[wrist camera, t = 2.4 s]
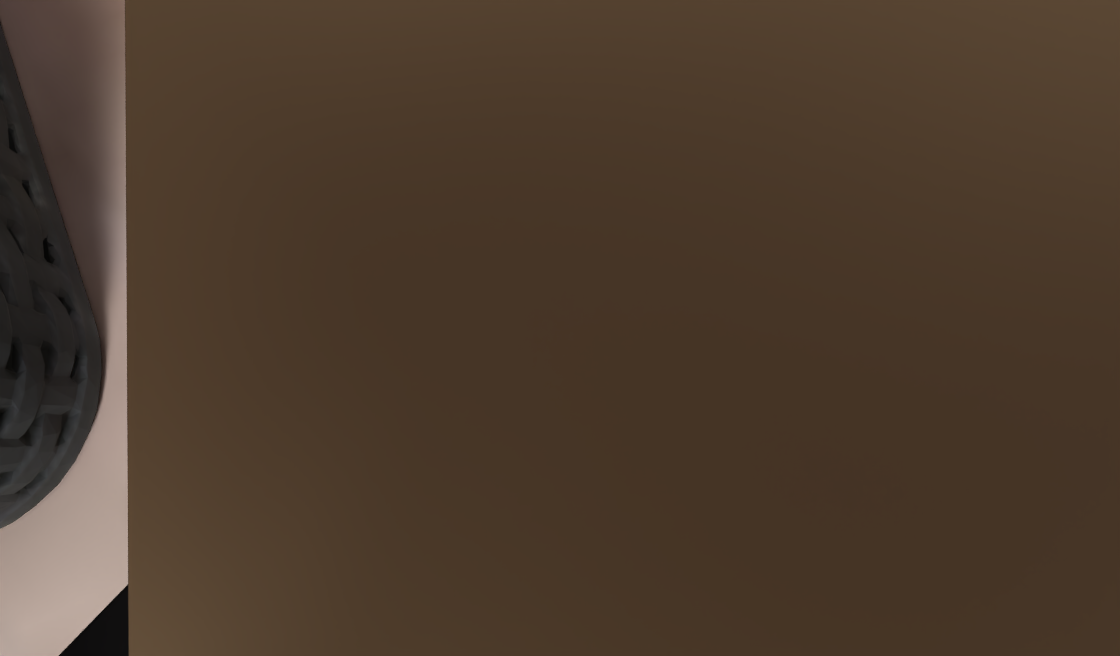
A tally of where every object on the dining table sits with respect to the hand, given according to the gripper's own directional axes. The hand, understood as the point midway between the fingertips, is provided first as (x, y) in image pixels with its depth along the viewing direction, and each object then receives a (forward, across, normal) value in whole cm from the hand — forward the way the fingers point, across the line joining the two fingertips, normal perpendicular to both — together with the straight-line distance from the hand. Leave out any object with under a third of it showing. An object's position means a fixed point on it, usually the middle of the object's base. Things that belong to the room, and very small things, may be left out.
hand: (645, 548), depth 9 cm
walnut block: (+7, 0, +5) cm, 9 cm away
